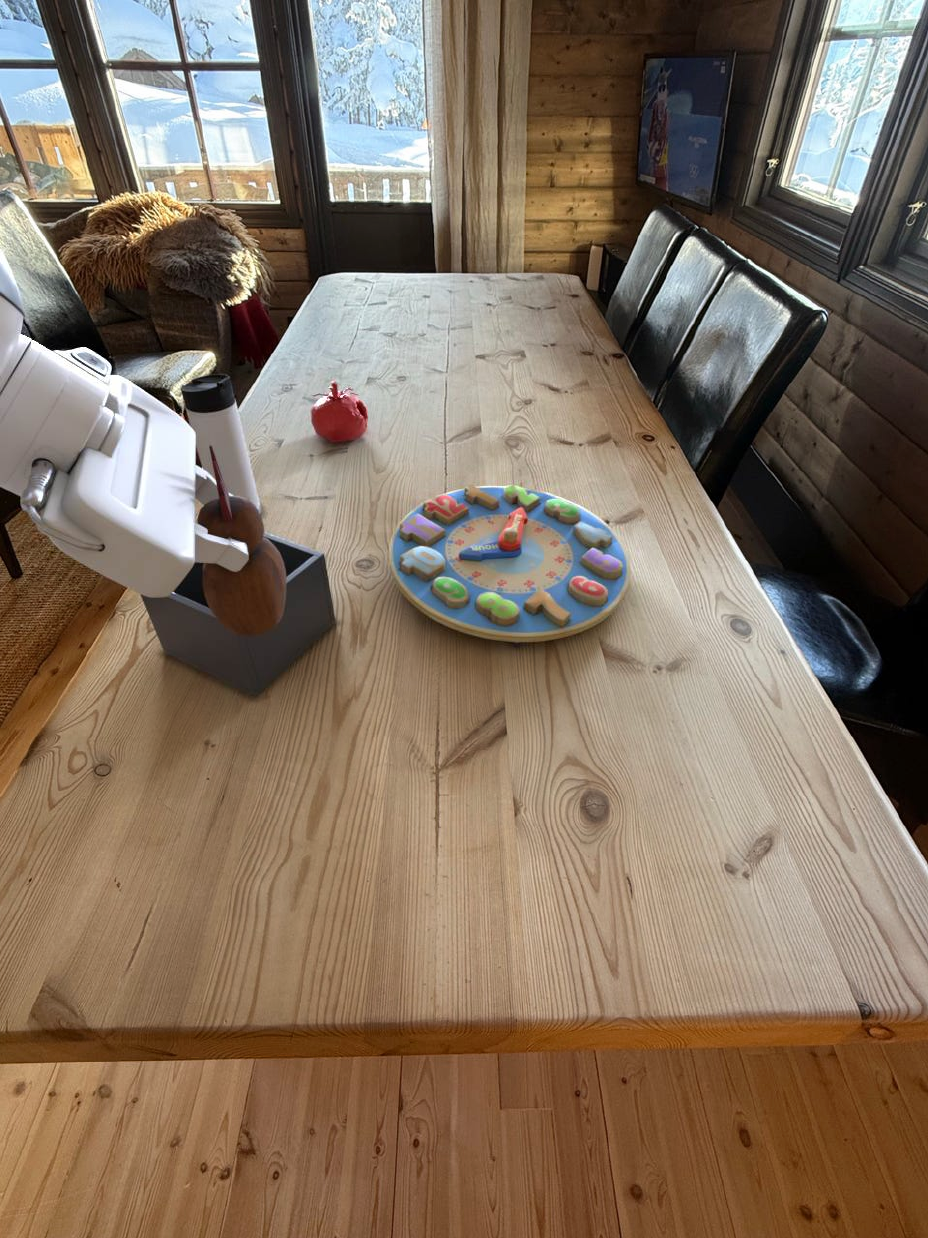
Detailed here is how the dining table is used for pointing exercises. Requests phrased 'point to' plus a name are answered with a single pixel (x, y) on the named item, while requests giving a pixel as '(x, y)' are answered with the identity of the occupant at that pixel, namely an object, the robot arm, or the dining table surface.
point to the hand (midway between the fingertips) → (241, 536)
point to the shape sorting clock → (509, 563)
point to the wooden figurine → (260, 585)
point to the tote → (234, 657)
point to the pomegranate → (339, 416)
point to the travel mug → (220, 432)
